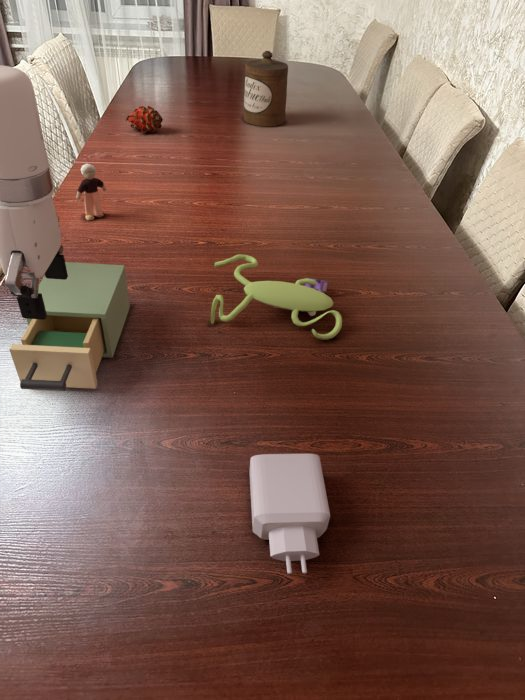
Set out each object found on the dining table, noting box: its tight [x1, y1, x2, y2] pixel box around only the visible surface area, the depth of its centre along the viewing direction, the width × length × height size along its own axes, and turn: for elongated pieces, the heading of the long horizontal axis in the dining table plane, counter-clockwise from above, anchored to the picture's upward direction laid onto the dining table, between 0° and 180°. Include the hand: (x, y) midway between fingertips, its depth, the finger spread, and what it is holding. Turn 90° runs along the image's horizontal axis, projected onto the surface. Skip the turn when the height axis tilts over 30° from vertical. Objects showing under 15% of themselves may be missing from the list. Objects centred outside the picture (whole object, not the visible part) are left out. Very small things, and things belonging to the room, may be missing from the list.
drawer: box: [9, 315, 106, 392], centre depth 81 cm, size 18×11×7 cm, turn 0°
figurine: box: [210, 253, 343, 341], centre depth 100 cm, size 18×27×6 cm
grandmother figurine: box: [75, 162, 107, 221], centre depth 121 cm, size 8×4×13 cm, turn 147°
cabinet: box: [26, 261, 131, 359], centre depth 90 cm, size 15×13×9 cm
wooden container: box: [243, 50, 289, 127], centre depth 181 cm, size 15×15×22 cm
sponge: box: [32, 331, 87, 348], centre depth 81 cm, size 8×5×4 cm, turn 90°
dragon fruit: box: [125, 105, 164, 134], centre depth 169 cm, size 8×8×12 cm
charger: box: [249, 453, 331, 575], centre depth 64 cm, size 5×9×15 cm
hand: (46, 296), depth 75 cm, fingers open, 9 cm apart
